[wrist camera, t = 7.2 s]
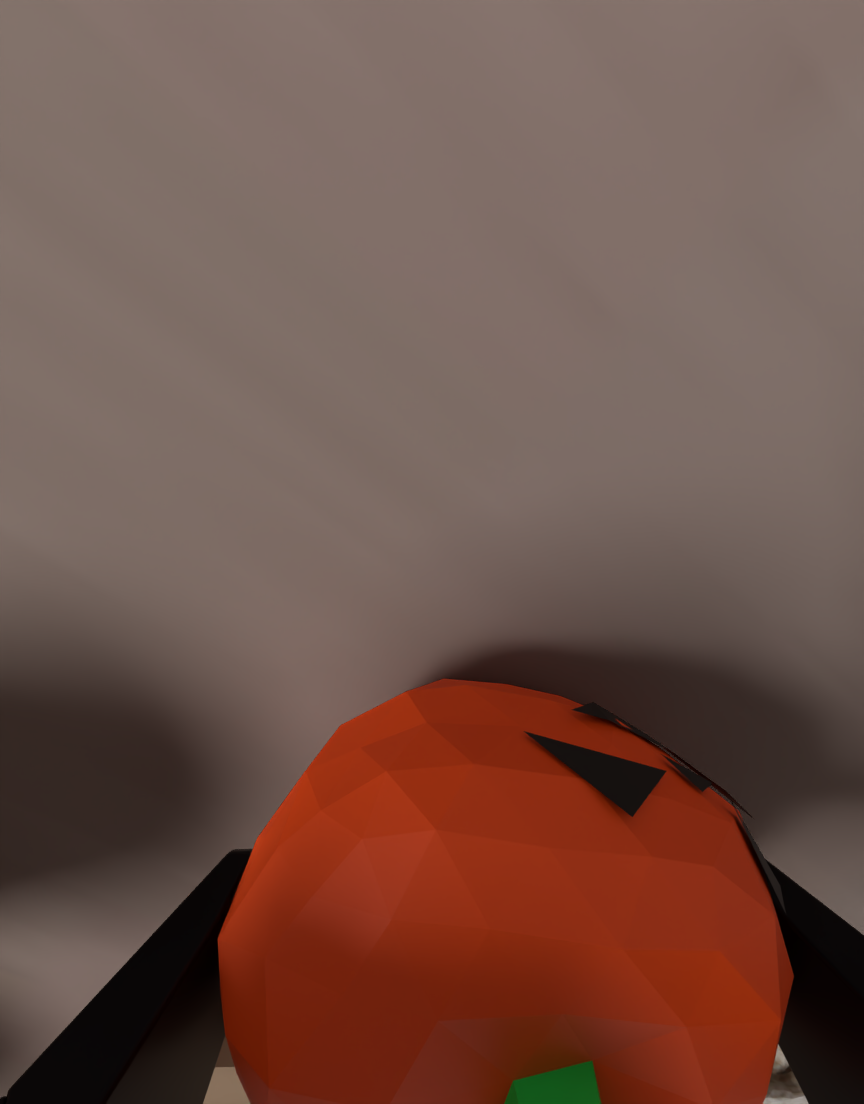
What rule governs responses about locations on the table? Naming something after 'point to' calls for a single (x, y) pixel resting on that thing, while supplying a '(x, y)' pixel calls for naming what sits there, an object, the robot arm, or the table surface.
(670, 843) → the pumpkin
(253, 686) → the table surface
